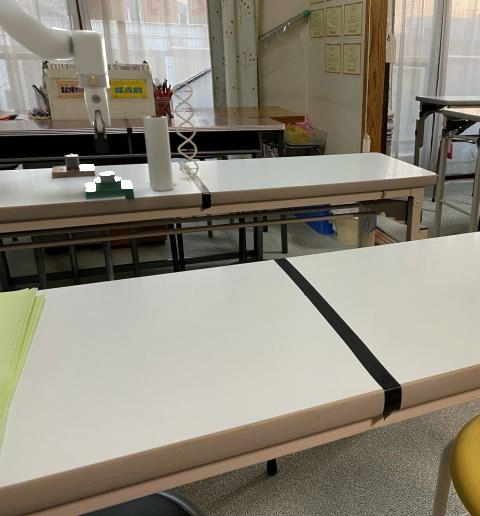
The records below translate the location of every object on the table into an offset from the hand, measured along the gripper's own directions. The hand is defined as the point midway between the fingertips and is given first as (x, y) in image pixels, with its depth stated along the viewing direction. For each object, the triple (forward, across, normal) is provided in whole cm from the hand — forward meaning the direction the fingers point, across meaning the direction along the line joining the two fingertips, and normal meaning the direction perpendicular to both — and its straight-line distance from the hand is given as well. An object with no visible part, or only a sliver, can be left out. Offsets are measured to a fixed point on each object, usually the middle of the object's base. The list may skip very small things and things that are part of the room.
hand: (102, 152), depth 141 cm
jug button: (+8, 0, 0) cm, 8 cm away
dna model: (+12, +16, -26) cm, 32 cm away
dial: (+10, +30, +9) cm, 33 cm away
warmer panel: (+13, +30, +8) cm, 34 cm away
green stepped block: (+12, 0, 0) cm, 13 cm away
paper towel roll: (+12, +5, -16) cm, 20 cm away
